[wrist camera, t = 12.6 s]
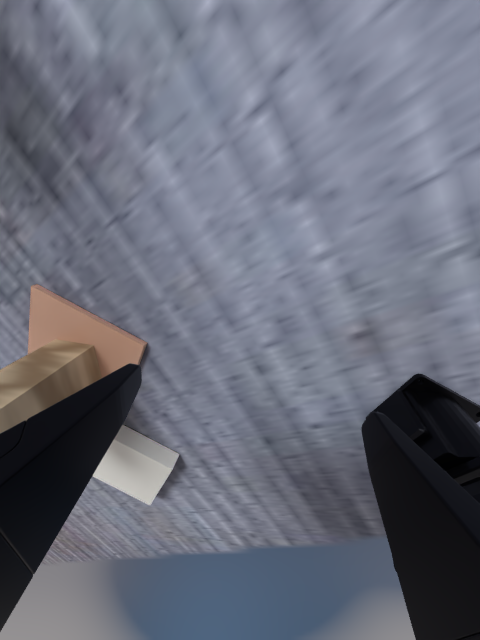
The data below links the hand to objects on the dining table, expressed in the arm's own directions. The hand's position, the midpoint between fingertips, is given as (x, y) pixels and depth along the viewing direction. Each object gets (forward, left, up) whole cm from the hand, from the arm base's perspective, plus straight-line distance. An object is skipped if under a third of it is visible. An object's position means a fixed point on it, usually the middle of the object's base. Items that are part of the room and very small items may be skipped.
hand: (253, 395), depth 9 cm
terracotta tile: (+14, +16, -11) cm, 24 cm away
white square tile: (+5, +29, -11) cm, 31 cm away
